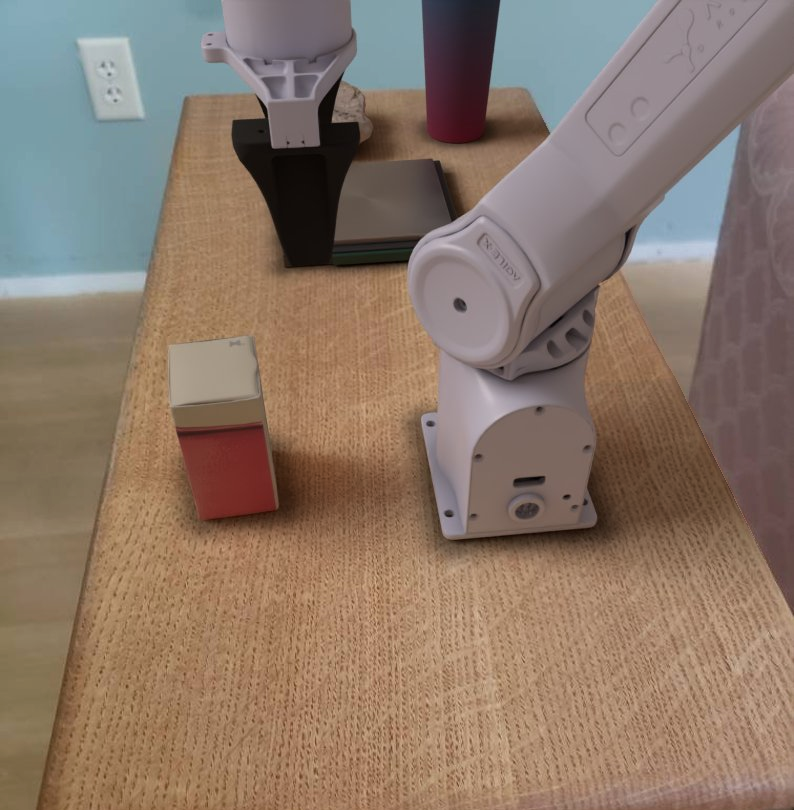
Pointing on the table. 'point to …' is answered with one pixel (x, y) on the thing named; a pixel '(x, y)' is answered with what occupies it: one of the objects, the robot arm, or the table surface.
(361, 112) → the fossil
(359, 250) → the scale
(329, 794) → the table surface
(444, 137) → the cup
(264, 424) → the small box
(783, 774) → the table surface
